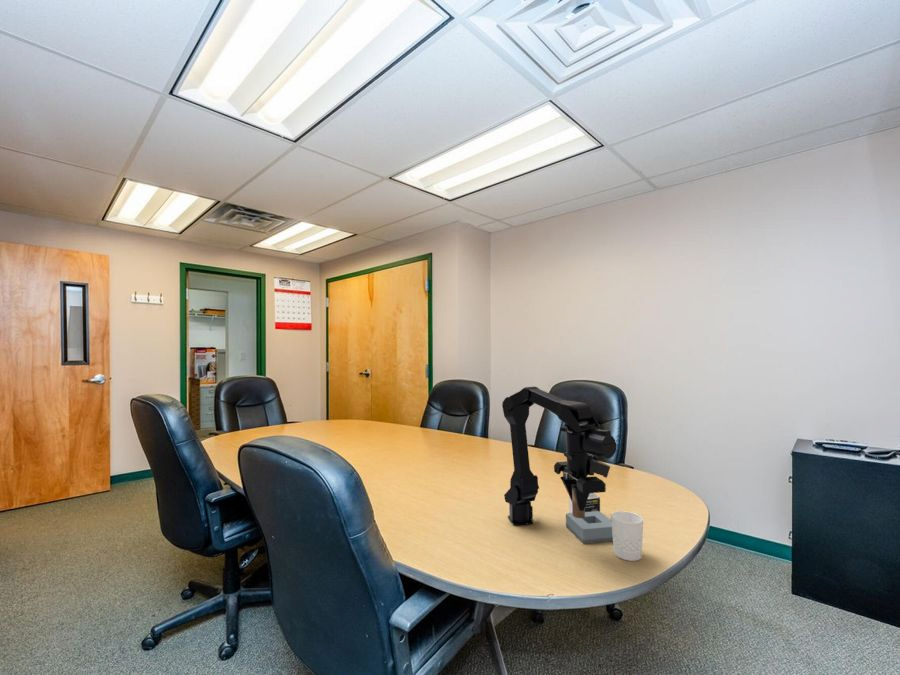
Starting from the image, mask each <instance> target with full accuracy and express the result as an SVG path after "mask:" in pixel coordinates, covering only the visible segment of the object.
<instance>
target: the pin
mask: <svg viewBox="0 0 900 675" xmlns="http://www.w3.org/2000/svg"><path fill="white" fill-rule="evenodd" d="M575 485H577V484H573V485H572V486H575ZM572 512H573V516H574V517H576V518H584V517H585V508H584V511H580V510H579V508H578V505H577V502H576V499H575V495H574V492H573V489H572Z"/></svg>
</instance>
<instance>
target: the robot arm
mask: <svg viewBox="0 0 900 675" xmlns="http://www.w3.org/2000/svg"><path fill="white" fill-rule="evenodd" d="M534 405H536V406H539V407H541V408H543V409H545V410H548V411H550V412H551V413H554V414H555V415H556V416H557V418H558V419H559V420H560V421H561V422H562V423H564V425H563V426H561V427H560V428H559V430H560V432H564V433H566V434H565V436H566V451H564V452H563V456H564V457H565V458H566V461H556V463H555V464H554V465H553V469H554V471H553V472H554V473H555V474H557V475H560V474H561V472H562V476H560V480H561V481H562V483H563V486H564V488H565V489H566V492H567V494H568V497H569V496H570V499H571V501H572V489H573V492H574V495H575V499H576V502H577V505H578V508H579V510H580V511H584V508H585V505H586V502H587V499H588V496H589V494H590V493H594V494H597V493H599V494H601V493H606V490H607V485H606V482H604V481H603V480H602V479H601V478H599V477H597V476H595V474H596V475H600V476H602V477H603V478H608V475H609V472H610V469H611V466H610V465H608V464H606V463H604V462H602V461H600V460H599V457H600V458H605V459H612V458H613V457H614V456H615V454H616V452H617V442H616V439H615V437H614V436H612V434H611V433H612V431H611V430H609V429H601V426H600V424H599V423H598V421H597V419H596V418H595V415H594V413H593V412H592V410H591V407H590V405H589V404H587V403H585V402H580V401H575V400H567V399H563V398H560V397H558V396H556V395H554V394H551V393H549V392H547V391H545V390H543V389H541V388H539V387H537V386H525V387H523V388H522V389H520V390H519V391H517V392H515V393H514V394H511V395H510V396H508V397H507V396H506V397H505V398H504V400H503V401H502V405H501V406H502V413H503V416H504V418H505V419H506V421H507V423H508V424H509V430H510V440H511V449H512V460H513V472H512V475H511V477H510V482H509V486H510V488H509V489H508V490H507V491H506V492H505V494H503V497H504V501H505V503H507V504H509V515H507V518H508V520H509V521H510V522H511V524H512V525H513V526H522V525H533V524H534V521H533V519H534V518H533V516H534V514H533V513H534V512H533V510H534V509H533V506H532V502H534V501H536V496H537V495H538V493H539V489H540V487H539V477H538V475H537V474H534V473H533V472H532V470H531V468H530V465H531V464H530V457H529V448H528V437H527V428H526V427H527V426H526V423H527V420H528V418H529V416H530V407H532V406H534ZM573 484H577V485H575V486H572V485H573Z"/></svg>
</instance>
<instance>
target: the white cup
mask: <svg viewBox="0 0 900 675" xmlns="http://www.w3.org/2000/svg"><path fill="white" fill-rule="evenodd" d="M610 520H611V524H612V537H613V541H612V544H613V553H614V555H615V556H616V557H618V558H619V559H622V560H624V561H629V562H635V561H639V560H641V558H642V556H643V555H642V553H643V552H642V551H643V549H642V548H643V537H644V536H643V533H644V518H643V517H642V516H641V515H639V514H637V513H635V512H631V511H625V510H617V511H613V512H611V513H610Z"/></svg>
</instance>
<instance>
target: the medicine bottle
mask: <svg viewBox="0 0 900 675" xmlns="http://www.w3.org/2000/svg"><path fill="white" fill-rule="evenodd" d="M568 499H569V500H568V502H569V503H568V505H569V508H568V509H569V513H573V512H572V501H571V499H570V496H569V495H568ZM593 511H600V512H601V497H600V496H599V495H597V493H590V494H589V496H588V499H587V502H586V505H585V512H593Z"/></svg>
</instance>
